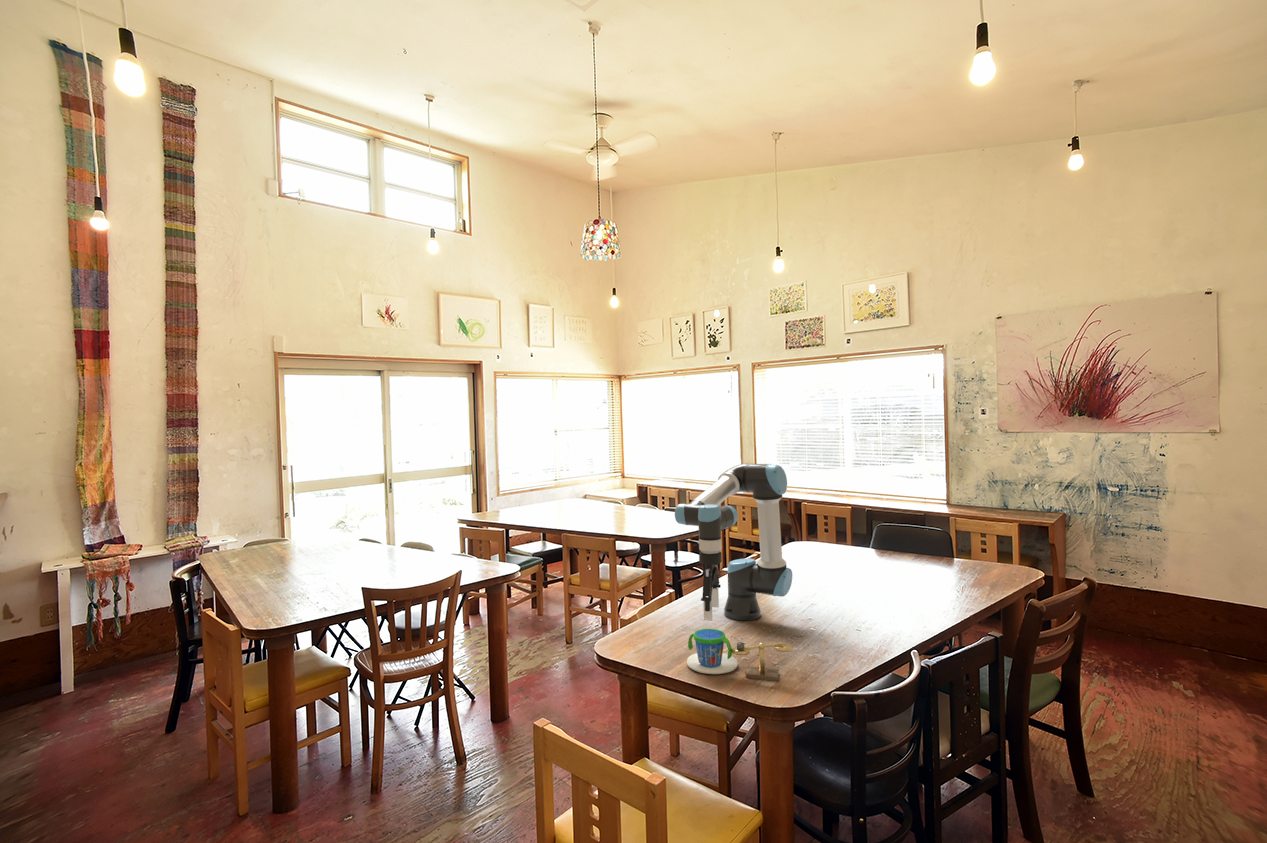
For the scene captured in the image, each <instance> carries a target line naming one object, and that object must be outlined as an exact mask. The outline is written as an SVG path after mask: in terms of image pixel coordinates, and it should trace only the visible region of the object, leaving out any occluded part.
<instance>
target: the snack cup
mask: <svg viewBox="0 0 1267 843" xmlns="http://www.w3.org/2000/svg"><path fill="white" fill-rule="evenodd" d="M693 639H694V641H695V648H696V653H697V655H698V660H699V663H700V665H701V666H704V667H710V668H712V667H717V666H720V665H721V661H722V654H723V653H724V644H726V647H727V654H728V657H727V658H728V659H729V658H731V656H733V653H732V651H731V649H732V648H733V647H732V645H731V642H730V641H729V638H728V637H727V636H726V633H725V632H724V631H722V630H720V629H716V628H702V629H697V630H696V631H694V632H693V633H692V634H690V636H689V638H688V642H687V648H688V650H689V651H692V650H693V648H694V646H693V645H694V644H693Z"/></svg>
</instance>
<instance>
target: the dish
mask: <svg viewBox="0 0 1267 843" xmlns="http://www.w3.org/2000/svg"><path fill="white" fill-rule="evenodd" d="M727 657H728V653H724V652H723V654H722V661H721V665H720V666H717V667H712V668H710V667H704V666H701V665H700V663H699V660H698V655H697V652H695V653H694V654H691V655H690V656H688V657H687V660H686V664H687V666H688V668H689V669H691V670H692V671H695V672H698V673H701V674H707V675H721V674H727V673H731V672H733V671H735V670H736V669H737V668H738V663H739V662H738V660H737V659H736V657H734V656H733V655H732V656H731V658H729V659H728V658H727Z"/></svg>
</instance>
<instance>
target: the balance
mask: <svg viewBox="0 0 1267 843" xmlns="http://www.w3.org/2000/svg"><path fill="white" fill-rule="evenodd" d="M772 647H773V649H774V650H775V651H776V652H777V651H778V652H780V653H781V652H782V653H789V652H792V651H793V650H794V646H793V645H792V644H789V643H786V642H784V641H782V642H781V641H780V642H773V643H766V644H765V643H764V642H759V643H758V644H756V645H748V646H745V643H744V642H741V641H740V642H737V643H736V646H734V647H731V648H732V649H731V651H732V655H733V654H734V655H736V656H747V655H749V654H750V653H751V650H756V649H758V663H759V664H758V666H750V665H748V666H747V667H746V672H745V678H747V679H756V680H757V679H758V680H764V681H765V680H766V681H767V680H768V681H769V680H770V681H776V682H777V681H778V679H779V669H777V668H769V667H766V658H765V657H766V652H765V651H766V648H772Z"/></svg>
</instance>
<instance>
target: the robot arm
mask: <svg viewBox="0 0 1267 843" xmlns="http://www.w3.org/2000/svg"><path fill="white" fill-rule="evenodd" d="M787 487H788V478H787V474H786V471H785V469H784V468H783V467H782V466H781V465H778V464H772V463H741V464H737V465H735V466H733V467H731V468H729V469H727V470H724V472H722V474H720V475H719V476H718V478H717V480H716V481H715V482H714V483H713V484H711V485H710V486H708V488H707V489H706V490H704V491H703V492H701V493H700V494H699V495H697V497H695V498H694V499H693V500H691V502H689V503H679V504H677V505H676V508H675V509H674V519H675V521H676V522H677V524H679V525H684V526H695V527H698V540H697V544H698V549H699V552H698V558H699V559H698V560H699V563H700V564H703V565H705V567H704V569H703V581H702V582H703V583H702V597H700V601H701V602H703V621H707V622H708V621H710V622H711V621H713V608H720V604H719V603H720V602H719V597H720V596H719V595H720V594H719V593H720V592H719V589H720V588H721V586H722V585H721V584H720V579H719V568H718V565H719V564H721V563H722V548H723V547H722V531H723V530H724V529H729V528H732V527H733V526H734V525H735V524H736V523H737V522H738V520H739V514H738V512H737V510H736V508H735V507H734V506H731V505H728V504H727V505H722V506H720V505H721V504H722V503H723V502H725V500H727V498H729V497H730V496H734V495H736V494H737V493H752V499H753V500H754V501H755V502H756V506H757V518H758V519H757V520H758V521H757V522H758V533H759V534H758V536H759V537H758V538H759V549H760V550H759V553H760V554H759V555H760V559H758V560H757V562H756V559H755V558H749V557H748V558H739V559H733V560H731V561H729V563H728V564H727V571H726V573H727V598H726V601H725V605H724V609H723V610H724V611H723V612H724V613H723V614H724V616H726V618H727V619H728V618H729V619H731V620H737V621H753V620H756V619H759V618H760V617H761V615H762V614H761V607H760V604H759V602H758V598H757V594H761V595H767V596H773V597H786V596H787V594H789V592H790V589H791V587H792V584H793V583H792V582H793V571H792V569H791V568H789V567H787V561H786V560H785V559H784V558H783V551H782V550H783V549H782V531H781V518H780V517H781V515H780V501H781V499H782V498H783V495H784V494H785V493H786V492H787V489H788V488H787Z"/></svg>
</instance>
